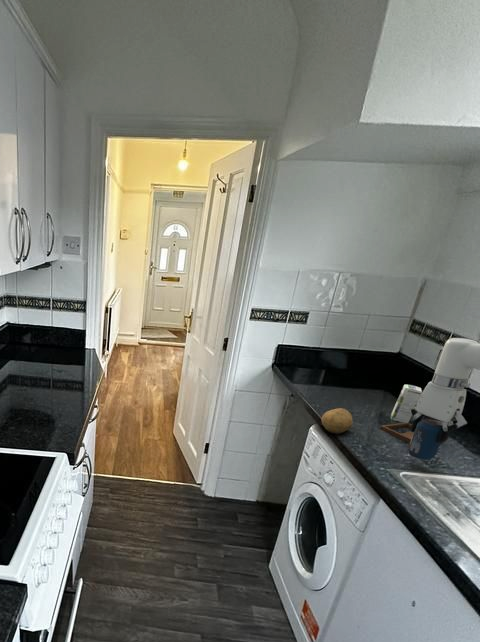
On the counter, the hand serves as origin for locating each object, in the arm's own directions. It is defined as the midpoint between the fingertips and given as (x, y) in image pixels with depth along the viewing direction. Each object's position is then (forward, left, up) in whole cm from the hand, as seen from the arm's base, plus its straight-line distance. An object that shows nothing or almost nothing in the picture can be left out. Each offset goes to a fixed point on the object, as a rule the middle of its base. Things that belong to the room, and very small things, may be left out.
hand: (427, 436), depth 127 cm
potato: (+27, +6, -11) cm, 29 cm away
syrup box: (+29, -30, -11) cm, 43 cm away
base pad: (+17, -20, -10) cm, 28 cm away
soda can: (0, 0, -7) cm, 7 cm away
